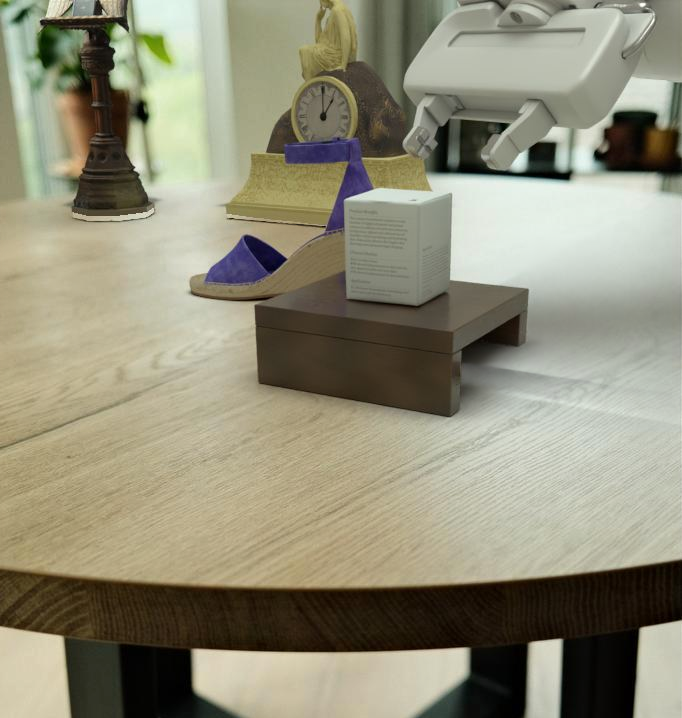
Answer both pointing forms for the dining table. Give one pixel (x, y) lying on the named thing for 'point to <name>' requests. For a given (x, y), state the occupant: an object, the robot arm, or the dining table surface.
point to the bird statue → (101, 112)
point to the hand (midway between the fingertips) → (450, 158)
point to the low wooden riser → (382, 341)
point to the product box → (397, 245)
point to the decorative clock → (330, 131)
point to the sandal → (311, 261)
